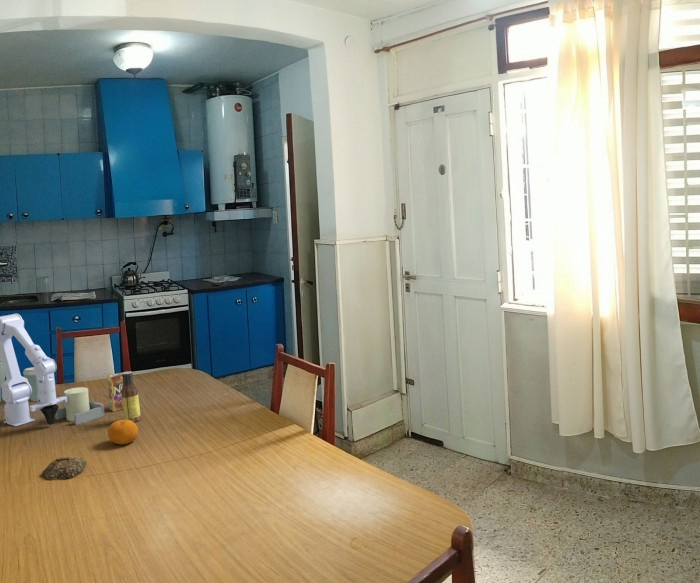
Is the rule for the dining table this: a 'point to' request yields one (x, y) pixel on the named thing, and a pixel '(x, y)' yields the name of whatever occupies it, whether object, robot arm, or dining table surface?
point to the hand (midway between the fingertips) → (50, 423)
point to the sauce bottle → (130, 398)
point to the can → (76, 401)
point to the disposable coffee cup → (32, 383)
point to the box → (84, 413)
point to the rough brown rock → (64, 468)
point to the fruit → (122, 431)
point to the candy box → (115, 391)
